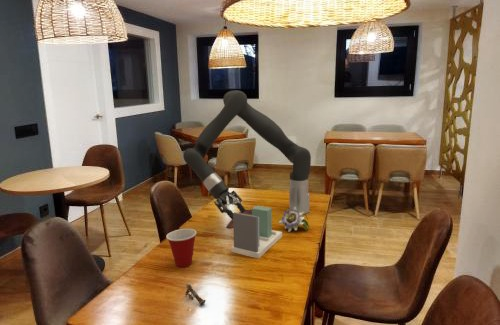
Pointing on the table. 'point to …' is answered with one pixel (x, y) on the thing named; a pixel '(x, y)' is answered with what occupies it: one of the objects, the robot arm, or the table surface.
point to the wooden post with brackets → (193, 294)
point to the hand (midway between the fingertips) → (239, 214)
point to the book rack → (251, 236)
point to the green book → (264, 220)
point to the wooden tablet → (230, 224)
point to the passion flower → (293, 219)
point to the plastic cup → (182, 246)
